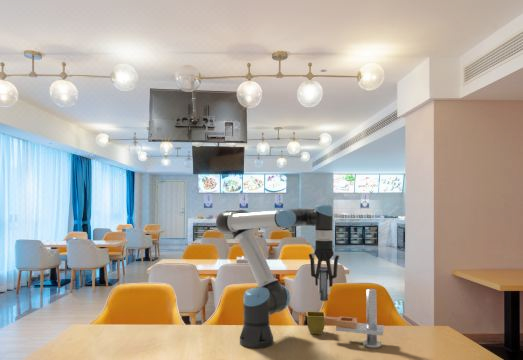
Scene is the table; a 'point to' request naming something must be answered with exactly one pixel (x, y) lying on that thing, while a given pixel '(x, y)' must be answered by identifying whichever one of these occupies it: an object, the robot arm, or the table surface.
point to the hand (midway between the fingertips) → (324, 293)
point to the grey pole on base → (352, 326)
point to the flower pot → (315, 322)
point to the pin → (323, 283)
